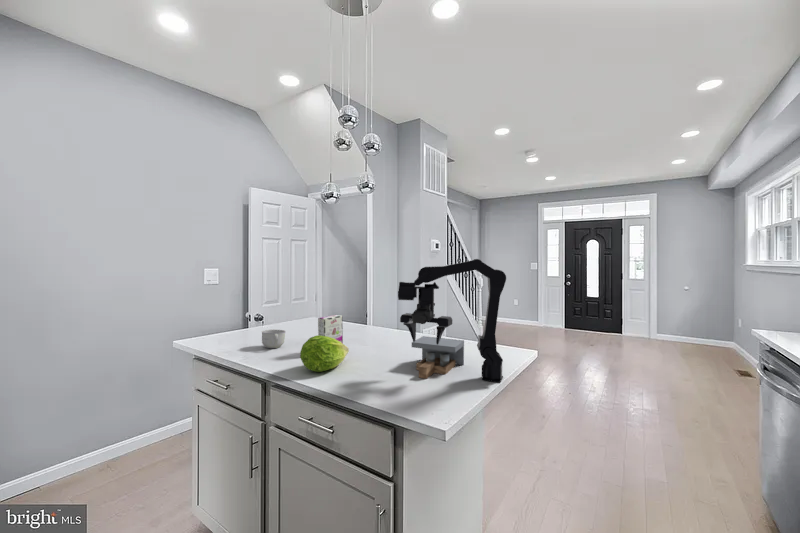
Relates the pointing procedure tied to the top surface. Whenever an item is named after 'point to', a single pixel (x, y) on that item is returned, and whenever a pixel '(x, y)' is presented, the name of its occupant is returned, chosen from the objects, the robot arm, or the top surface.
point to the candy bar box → (331, 327)
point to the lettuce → (322, 353)
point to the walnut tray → (434, 364)
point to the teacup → (273, 338)
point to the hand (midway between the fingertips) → (425, 342)
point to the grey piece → (442, 348)
